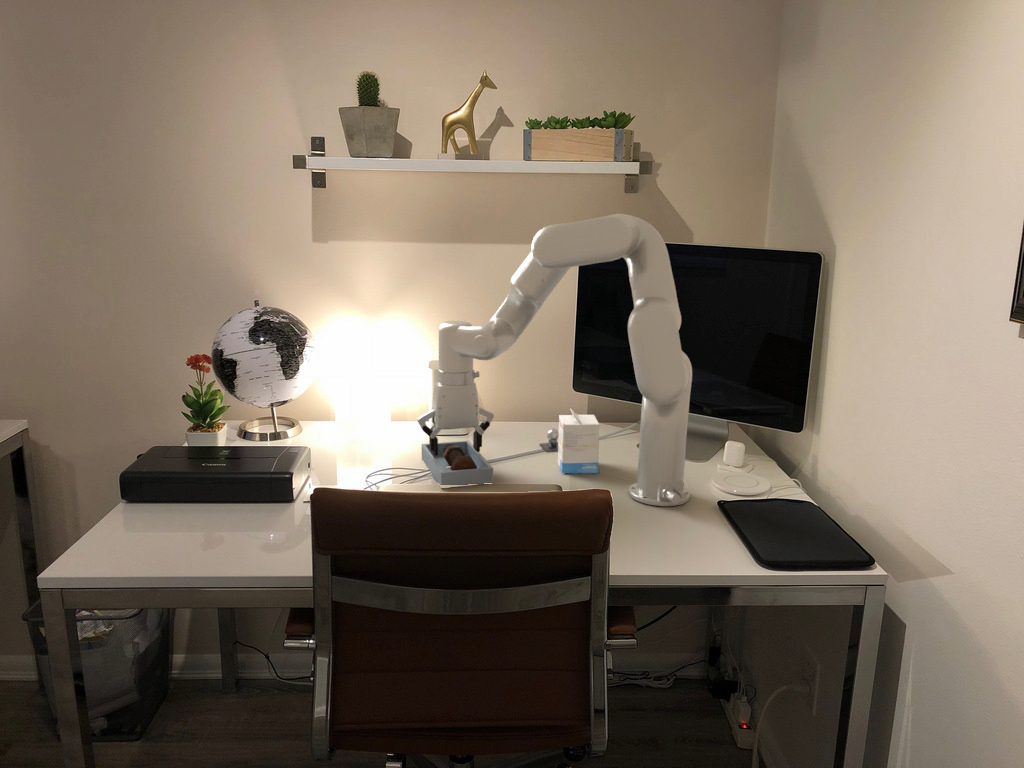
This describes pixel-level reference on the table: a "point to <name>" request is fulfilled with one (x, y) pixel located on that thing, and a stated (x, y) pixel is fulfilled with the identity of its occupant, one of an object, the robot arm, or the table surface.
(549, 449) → the ball stud
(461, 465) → the bolt
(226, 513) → the table surface
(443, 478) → the parts tray
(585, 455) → the ink box
